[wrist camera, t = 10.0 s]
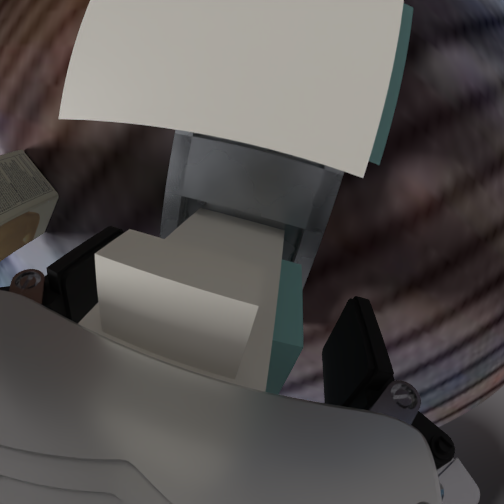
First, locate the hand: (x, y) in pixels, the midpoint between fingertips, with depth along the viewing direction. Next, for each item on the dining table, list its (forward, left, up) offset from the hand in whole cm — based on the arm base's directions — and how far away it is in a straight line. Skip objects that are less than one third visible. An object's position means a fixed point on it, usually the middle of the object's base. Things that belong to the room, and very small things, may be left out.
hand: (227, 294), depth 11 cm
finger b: (-8, 0, -3) cm, 9 cm away
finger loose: (0, 0, -3) cm, 3 cm away
